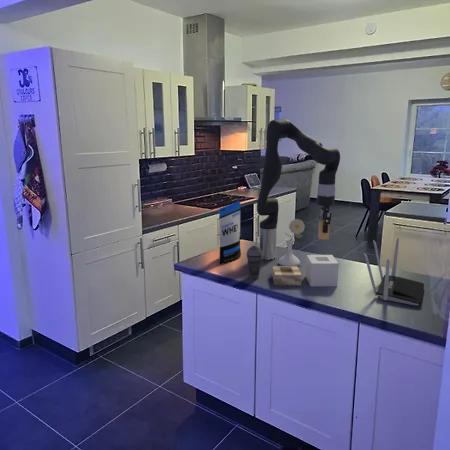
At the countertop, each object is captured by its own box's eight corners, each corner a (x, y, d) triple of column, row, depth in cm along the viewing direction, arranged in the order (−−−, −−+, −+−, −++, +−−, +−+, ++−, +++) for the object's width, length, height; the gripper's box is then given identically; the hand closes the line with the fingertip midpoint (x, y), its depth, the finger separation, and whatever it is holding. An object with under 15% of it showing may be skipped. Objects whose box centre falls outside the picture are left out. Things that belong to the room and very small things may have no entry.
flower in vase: (276, 267, 202) (277, 220, 196) (280, 260, 212) (281, 215, 206) (301, 270, 198) (303, 222, 192) (304, 262, 208) (306, 216, 202)
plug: (318, 236, 180) (319, 215, 178) (326, 237, 180) (328, 215, 178) (320, 239, 177) (321, 217, 174) (328, 239, 177) (330, 217, 174)
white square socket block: (305, 276, 190) (306, 254, 187) (330, 276, 189) (332, 254, 187) (310, 286, 178) (311, 263, 175) (337, 286, 178) (338, 263, 175)
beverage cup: (250, 273, 194) (251, 234, 189) (264, 276, 190) (264, 236, 185) (243, 278, 188) (243, 238, 183) (257, 281, 184) (258, 240, 179)
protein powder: (212, 263, 209) (211, 207, 202) (232, 250, 230) (232, 200, 222) (227, 265, 205) (227, 209, 197) (247, 252, 225) (248, 201, 218)
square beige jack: (272, 275, 191) (272, 266, 190) (297, 275, 191) (297, 266, 189) (274, 285, 179) (275, 275, 178) (301, 285, 179) (301, 275, 178)
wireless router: (419, 313, 152) (425, 264, 147) (357, 301, 163) (361, 255, 158) (424, 283, 180) (429, 241, 175) (371, 275, 191) (375, 235, 186)
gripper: (314, 191, 180) (312, 227, 185) (321, 196, 167) (318, 235, 171) (330, 191, 180) (328, 227, 185) (338, 196, 166) (336, 235, 171)
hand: (323, 231), depth 178 cm, fingers closed on plug, 4 cm apart
